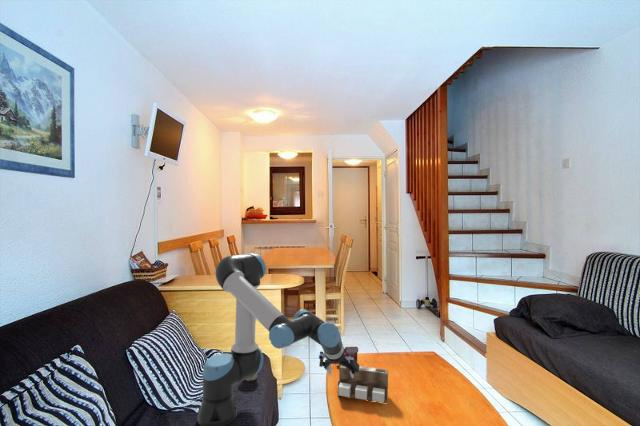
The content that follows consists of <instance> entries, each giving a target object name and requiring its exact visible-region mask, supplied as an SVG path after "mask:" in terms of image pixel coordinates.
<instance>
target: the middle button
mask: <svg viewBox="0 0 640 426" xmlns="http://www.w3.org/2000/svg"><path fill="white" fill-rule="evenodd" d="M367 396H368V387H367V386H360V385H356V389H355V398H357V399H364V400H367ZM357 399H356V400H357Z"/></svg>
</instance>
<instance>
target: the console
mask: <svg viewBox="0 0 640 426" xmlns="http://www.w3.org/2000/svg"><path fill="white" fill-rule="evenodd" d="M338 369H339V372H338V373H339V377H338V380H337V388H338V387H339V384H340V382H341V383H347V384H351V394H350V398H349V399H351V398H355V389H356V385H360V386H367V387H368V396H367V400H368V401H367V402H369V401H372V392H373V388H380V389H385V399H384V403H387V404H388V399H387V397H389V370H388V369H382V368H377V367H370V366H361V365H359V372H356V373H355V374H354V377H353V378H351V374H350V370H349V369H348V368H346V367H345V366H342V365H339V368H338ZM337 397H339V395H338V394H337ZM341 398H345V396H342V397H341ZM363 400H364V399H362V400H361V401H363Z"/></svg>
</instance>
